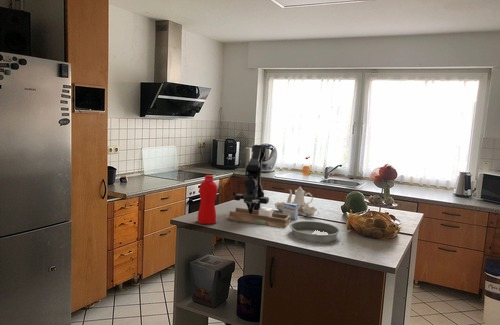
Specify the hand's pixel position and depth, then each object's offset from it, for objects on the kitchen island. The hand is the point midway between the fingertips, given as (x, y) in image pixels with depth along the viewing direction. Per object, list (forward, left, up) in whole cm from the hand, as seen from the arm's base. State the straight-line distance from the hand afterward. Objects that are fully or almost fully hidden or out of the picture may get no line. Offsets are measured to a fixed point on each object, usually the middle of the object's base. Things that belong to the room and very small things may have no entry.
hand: (250, 213), depth 216 cm
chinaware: (-29, +21, -3) cm, 36 cm away
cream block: (0, +9, -1) cm, 9 cm away
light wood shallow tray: (0, +6, -3) cm, 6 cm away
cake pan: (+13, +38, -3) cm, 40 cm away
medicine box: (-14, +20, -3) cm, 24 cm away
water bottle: (+18, -18, -3) cm, 26 cm away
